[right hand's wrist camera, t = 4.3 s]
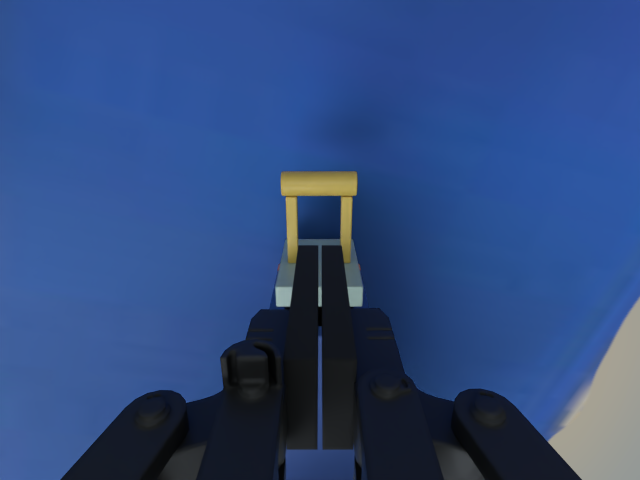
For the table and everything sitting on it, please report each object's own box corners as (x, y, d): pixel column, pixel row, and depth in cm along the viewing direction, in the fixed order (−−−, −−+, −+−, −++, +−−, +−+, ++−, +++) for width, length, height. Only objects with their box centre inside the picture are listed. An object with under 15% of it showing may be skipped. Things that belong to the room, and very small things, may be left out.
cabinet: (278, 263, 28) (262, 335, 20) (359, 263, 28) (375, 335, 20) (287, 460, 35) (278, 569, 27) (351, 459, 35) (360, 569, 27)
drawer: (282, 159, 24) (270, 185, 18) (355, 159, 24) (368, 185, 18) (292, 439, 33) (286, 521, 27) (346, 439, 33) (352, 521, 27)
